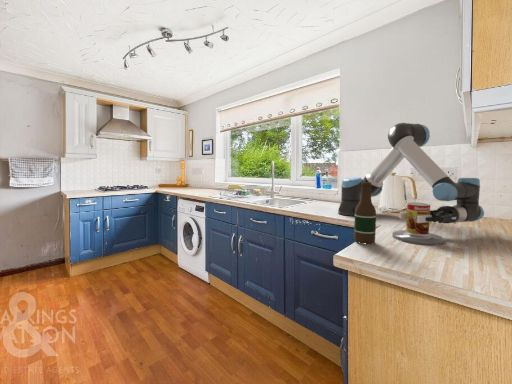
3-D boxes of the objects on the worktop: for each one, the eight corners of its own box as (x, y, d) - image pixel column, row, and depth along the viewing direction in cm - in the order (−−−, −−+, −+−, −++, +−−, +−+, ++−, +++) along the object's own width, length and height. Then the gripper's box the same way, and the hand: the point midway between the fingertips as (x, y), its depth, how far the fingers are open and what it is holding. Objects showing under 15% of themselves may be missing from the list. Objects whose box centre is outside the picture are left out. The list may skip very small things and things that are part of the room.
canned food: (418, 235, 99) (419, 205, 98) (401, 230, 107) (403, 203, 106) (433, 234, 102) (435, 204, 100) (416, 229, 109) (417, 202, 108)
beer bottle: (379, 244, 97) (382, 182, 95) (362, 245, 95) (365, 182, 93) (365, 238, 105) (367, 181, 102) (349, 240, 103) (351, 181, 100)
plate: (386, 238, 104) (386, 235, 104) (399, 230, 117) (399, 228, 117) (439, 248, 92) (439, 244, 92) (446, 238, 105) (447, 235, 105)
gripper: (476, 228, 99) (432, 232, 93) (427, 218, 119) (388, 221, 113) (477, 209, 98) (433, 212, 92) (428, 202, 118) (389, 204, 112)
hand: (408, 217), depth 102 cm, fingers closed on canned food, 8 cm apart
